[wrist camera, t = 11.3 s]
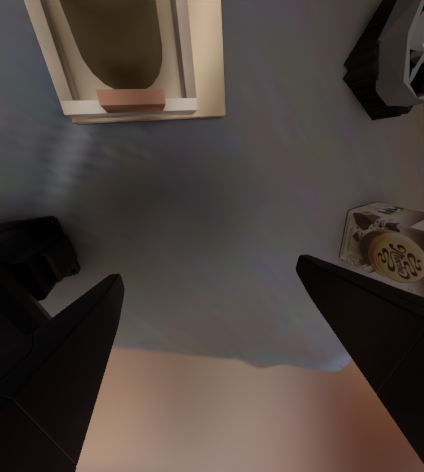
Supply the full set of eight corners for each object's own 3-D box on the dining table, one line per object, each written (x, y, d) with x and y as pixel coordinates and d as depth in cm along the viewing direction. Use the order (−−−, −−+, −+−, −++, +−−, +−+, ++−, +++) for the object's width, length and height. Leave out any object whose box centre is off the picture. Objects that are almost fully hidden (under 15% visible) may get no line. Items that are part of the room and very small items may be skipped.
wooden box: (76, 124, 16) (45, 111, 11) (13, -65, 11) (-86, -224, 7) (221, 117, 19) (247, 104, 14) (214, -34, 14) (247, -127, 10)
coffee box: (346, 210, 29) (531, 263, 15) (377, 201, 30) (575, 242, 16) (337, 258, 33) (477, 336, 19) (365, 248, 34) (515, 314, 20)
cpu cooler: (389, 48, 16) (486, -102, 13) (331, 74, 20) (394, -33, 18) (428, 125, 20) (505, 22, 18) (372, 130, 25) (427, 50, 23)
